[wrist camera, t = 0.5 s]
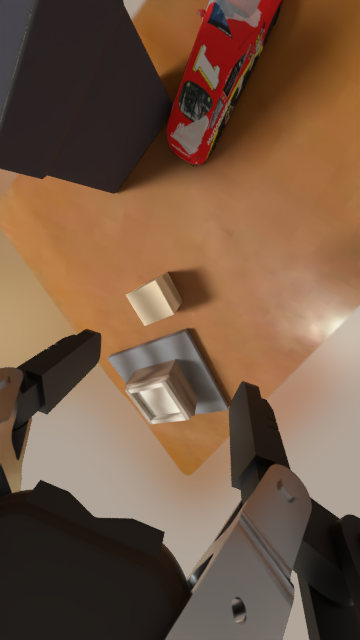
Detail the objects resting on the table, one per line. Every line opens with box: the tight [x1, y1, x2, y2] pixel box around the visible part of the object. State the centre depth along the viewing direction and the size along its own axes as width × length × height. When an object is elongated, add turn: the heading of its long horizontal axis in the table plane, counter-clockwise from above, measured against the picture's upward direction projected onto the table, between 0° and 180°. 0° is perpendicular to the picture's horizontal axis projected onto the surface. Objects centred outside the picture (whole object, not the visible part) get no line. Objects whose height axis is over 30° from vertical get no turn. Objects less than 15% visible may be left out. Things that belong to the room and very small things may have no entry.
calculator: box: [0, 0, 173, 193], centre depth 15 cm, size 11×4×15 cm, turn 131°
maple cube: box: [126, 272, 183, 326], centre depth 27 cm, size 5×5×5 cm
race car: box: [167, 0, 283, 166], centre depth 16 cm, size 13×5×4 cm, turn 149°
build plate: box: [108, 329, 228, 424], centre depth 34 cm, size 18×18×6 cm
